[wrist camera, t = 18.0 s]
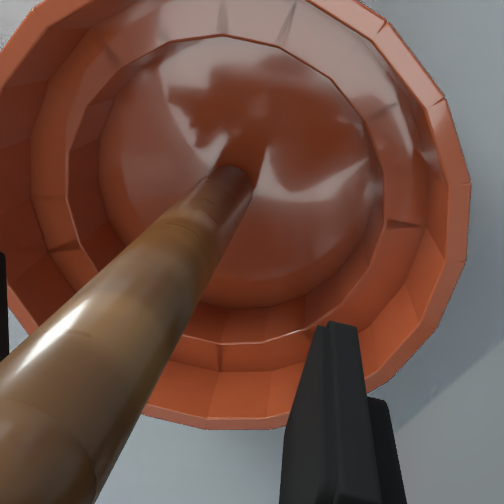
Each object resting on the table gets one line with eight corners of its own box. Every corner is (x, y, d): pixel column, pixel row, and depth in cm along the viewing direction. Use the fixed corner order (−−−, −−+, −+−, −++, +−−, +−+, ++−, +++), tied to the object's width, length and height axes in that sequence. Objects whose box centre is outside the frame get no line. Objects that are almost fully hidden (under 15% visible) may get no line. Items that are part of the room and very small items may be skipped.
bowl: (488, 24, 17) (572, 22, 11) (361, 367, 23) (375, 470, 18) (62, -67, 17) (-56, -112, 12) (56, 296, 24) (-21, 376, 18)
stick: (260, 167, 19) (56, 501, 4) (250, 214, 20) (47, 643, 5) (211, 156, 19) (-157, 444, 4) (203, 203, 20) (-137, 591, 5)
